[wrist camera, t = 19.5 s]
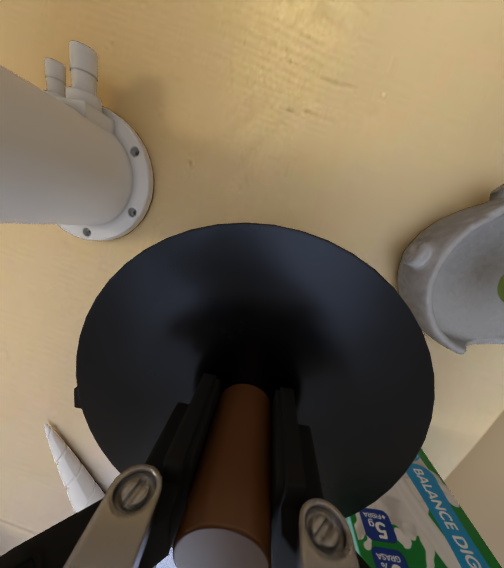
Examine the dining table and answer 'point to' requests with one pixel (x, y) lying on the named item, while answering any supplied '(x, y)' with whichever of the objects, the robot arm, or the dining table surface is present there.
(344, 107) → the dining table surface
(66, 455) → the unicorn horn
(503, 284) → the broccoli
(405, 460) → the pot lid
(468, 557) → the milk carton
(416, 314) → the dish
